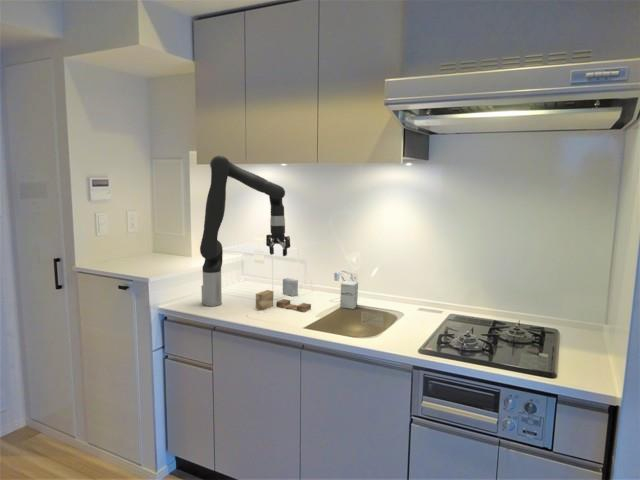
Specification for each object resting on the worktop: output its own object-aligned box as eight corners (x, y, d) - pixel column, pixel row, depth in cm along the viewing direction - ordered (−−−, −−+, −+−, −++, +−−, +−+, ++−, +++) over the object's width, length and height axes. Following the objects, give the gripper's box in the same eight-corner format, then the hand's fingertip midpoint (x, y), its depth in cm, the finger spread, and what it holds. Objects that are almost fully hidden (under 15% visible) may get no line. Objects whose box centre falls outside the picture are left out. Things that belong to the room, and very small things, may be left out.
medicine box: (298, 295, 258) (298, 279, 257) (292, 296, 255) (292, 281, 253) (288, 292, 263) (288, 277, 262) (282, 294, 260) (282, 278, 258)
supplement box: (339, 307, 235) (340, 283, 234) (344, 303, 242) (344, 280, 240) (353, 309, 233) (354, 284, 231) (357, 305, 240) (358, 281, 238)
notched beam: (276, 306, 236) (276, 301, 235) (283, 303, 241) (283, 299, 240) (304, 312, 227) (304, 307, 226) (310, 309, 232) (310, 304, 231)
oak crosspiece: (255, 309, 230) (255, 293, 229) (267, 305, 238) (267, 289, 237) (262, 310, 228) (262, 294, 227) (273, 306, 236) (273, 291, 235)
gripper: (262, 224, 241) (263, 255, 243) (283, 225, 233) (284, 257, 235) (271, 222, 247) (272, 252, 249) (293, 224, 239) (293, 255, 241)
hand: (278, 255), depth 242 cm, fingers open, 8 cm apart
